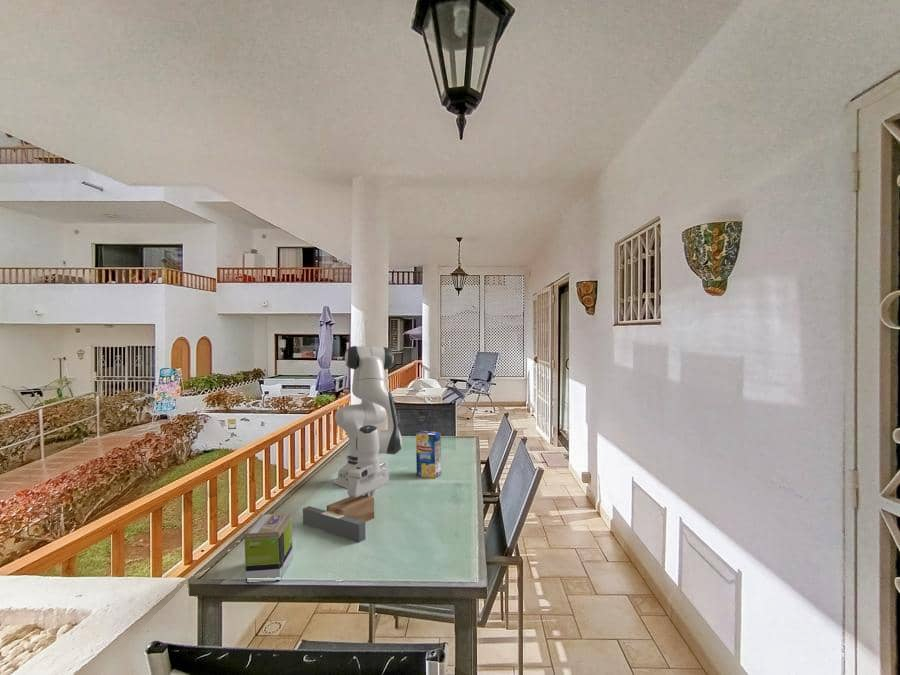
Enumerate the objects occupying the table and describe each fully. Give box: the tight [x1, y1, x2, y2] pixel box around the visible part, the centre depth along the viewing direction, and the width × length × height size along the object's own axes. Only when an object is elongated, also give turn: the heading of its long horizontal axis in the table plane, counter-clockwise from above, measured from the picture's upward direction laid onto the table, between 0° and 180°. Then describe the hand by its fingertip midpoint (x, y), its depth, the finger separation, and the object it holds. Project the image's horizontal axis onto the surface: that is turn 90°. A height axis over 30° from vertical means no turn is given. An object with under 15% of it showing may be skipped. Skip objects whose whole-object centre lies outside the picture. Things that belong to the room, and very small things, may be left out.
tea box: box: [244, 512, 294, 579], centre depth 140 cm, size 15×10×15 cm, turn 5°
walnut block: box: [326, 494, 375, 523], centre depth 176 cm, size 9×16×8 cm, turn 146°
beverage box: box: [415, 430, 442, 479], centre depth 237 cm, size 7×11×22 cm, turn 63°
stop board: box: [302, 505, 367, 543], centre depth 168 cm, size 30×3×6 cm, turn 56°
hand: (369, 501), depth 184 cm, fingers closed
